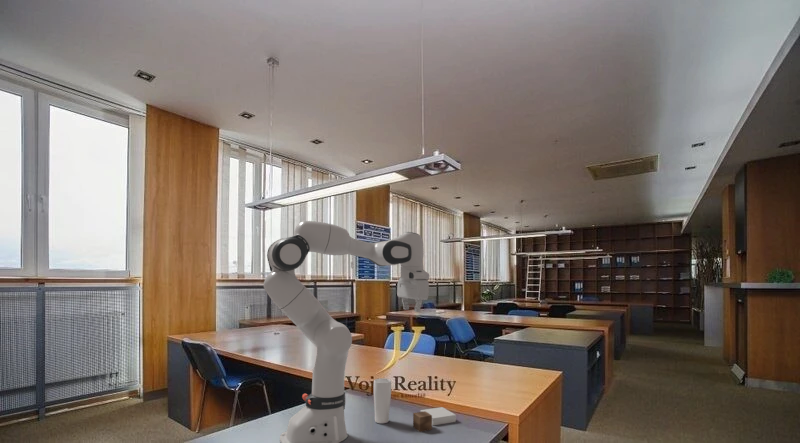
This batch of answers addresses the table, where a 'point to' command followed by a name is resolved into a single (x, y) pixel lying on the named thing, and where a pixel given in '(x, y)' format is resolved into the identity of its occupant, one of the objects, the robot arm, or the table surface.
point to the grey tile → (440, 415)
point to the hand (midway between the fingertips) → (411, 310)
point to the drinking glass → (382, 399)
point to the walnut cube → (422, 421)
